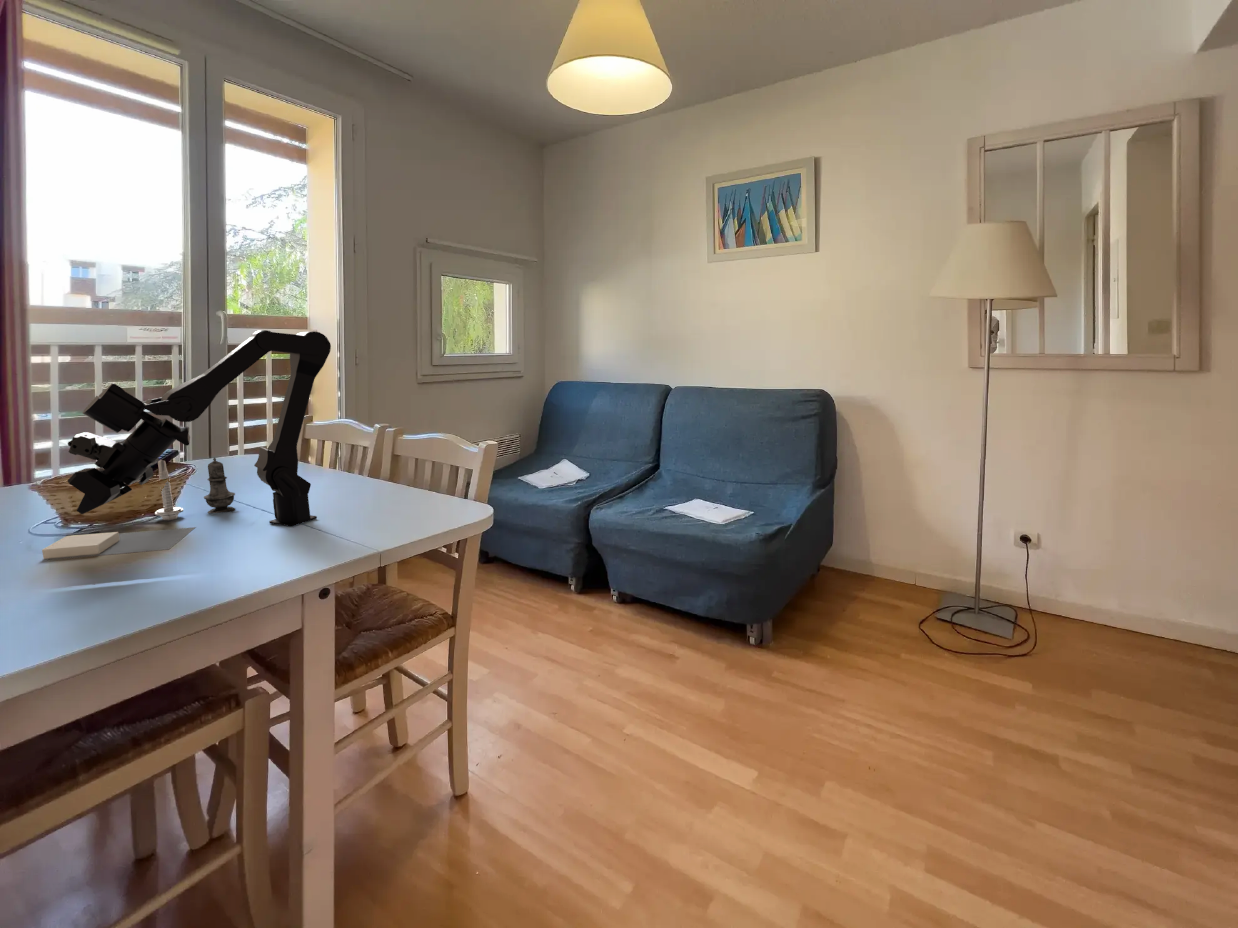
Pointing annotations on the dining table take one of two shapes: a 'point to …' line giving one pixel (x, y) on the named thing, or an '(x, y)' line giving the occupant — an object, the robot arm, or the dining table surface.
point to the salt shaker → (218, 489)
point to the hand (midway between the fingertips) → (80, 512)
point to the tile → (81, 545)
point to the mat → (142, 542)
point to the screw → (167, 496)
